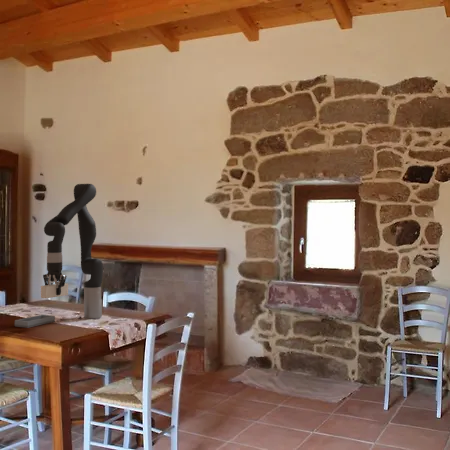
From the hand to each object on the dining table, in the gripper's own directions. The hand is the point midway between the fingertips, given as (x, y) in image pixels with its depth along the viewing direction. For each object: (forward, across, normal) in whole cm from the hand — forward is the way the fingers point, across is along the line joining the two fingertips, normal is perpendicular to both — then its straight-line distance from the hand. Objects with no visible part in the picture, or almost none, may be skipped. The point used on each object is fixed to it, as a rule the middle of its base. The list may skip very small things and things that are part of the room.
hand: (54, 294), depth 271 cm
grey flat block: (+16, +14, -1) cm, 22 cm away
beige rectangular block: (+1, 0, 0) cm, 1 cm away
